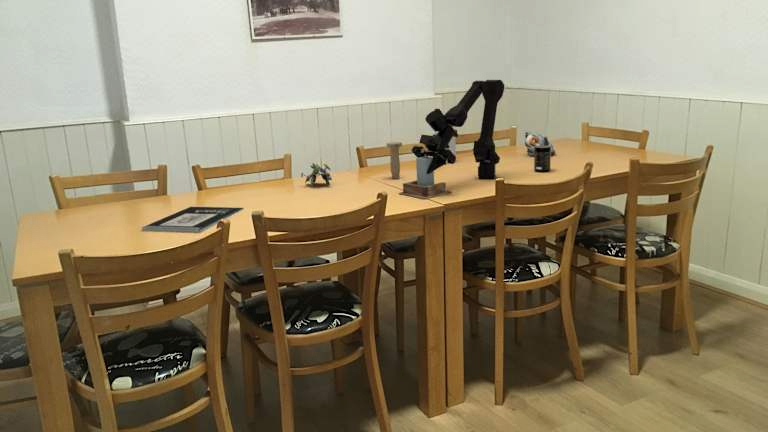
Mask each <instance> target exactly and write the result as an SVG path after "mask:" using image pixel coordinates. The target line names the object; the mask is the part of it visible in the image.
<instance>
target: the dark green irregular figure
mask: <svg viewBox="0 0 768 432" xmlns="http://www.w3.org/2000/svg"><path fill="white" fill-rule="evenodd" d="M323 166H325V168H322V167H323ZM323 166H322V167H321V166H320V165H319V164H317V163H316V164H315V162H312V164H310V168H311V169H312V173H310V174H309V175H305V174H304V172H301V175H300V177H301V178H303V177H306V179H305V181H304V184H306V183H307V182H310V184H309V185H310V186H309V188H311V187H312V185H313V183H314V184H315V183H316V181H317V178H318V177H319V176H321V178H322V179H323V180H324V181H325V184H326V185H327V186H328V185H330V184H331V182H330V181H332V180H333V178H332V175H331V174H330V172H327V170H328V171H331V168H330V167H329V165H327V164H326V163H323Z"/></svg>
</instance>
